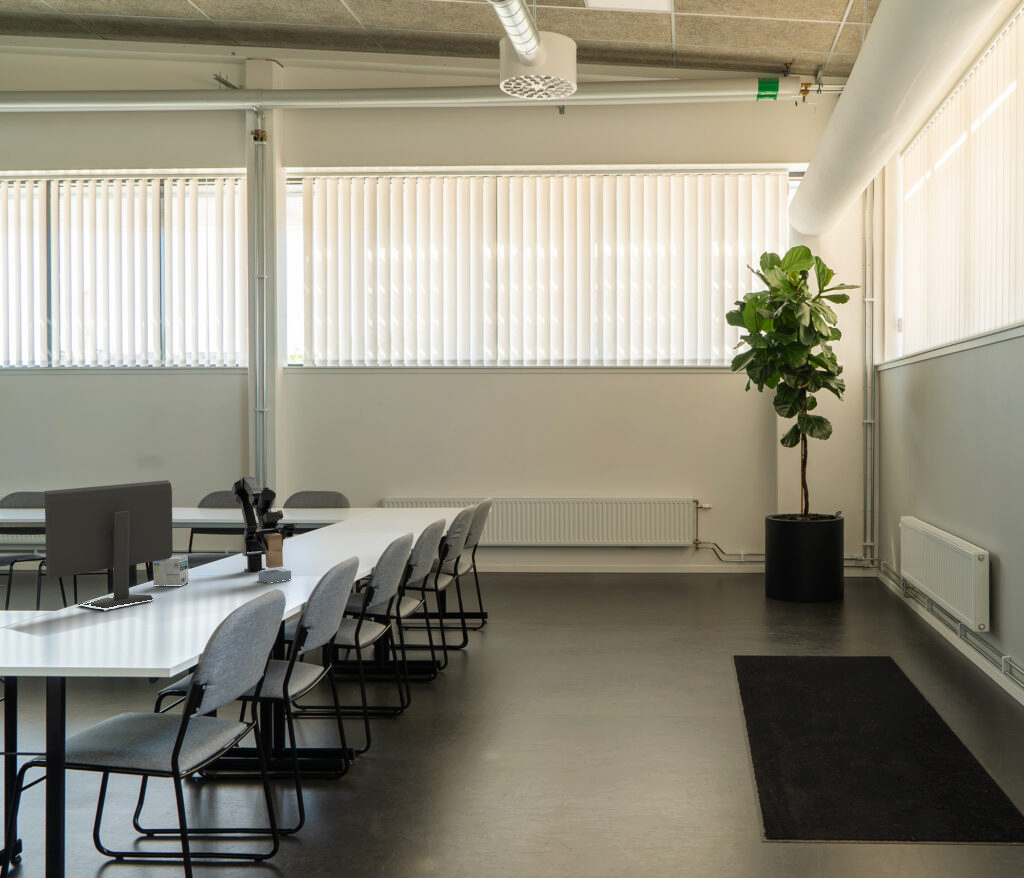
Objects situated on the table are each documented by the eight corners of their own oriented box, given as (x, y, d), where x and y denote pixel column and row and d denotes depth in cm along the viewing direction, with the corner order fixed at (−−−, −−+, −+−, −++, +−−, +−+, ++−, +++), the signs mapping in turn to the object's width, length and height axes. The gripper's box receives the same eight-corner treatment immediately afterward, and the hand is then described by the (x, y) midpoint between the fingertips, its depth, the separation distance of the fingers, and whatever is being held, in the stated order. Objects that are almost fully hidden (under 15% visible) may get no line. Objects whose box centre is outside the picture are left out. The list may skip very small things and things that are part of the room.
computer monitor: (159, 590, 325) (155, 479, 324) (187, 594, 316) (182, 480, 314) (38, 614, 290) (32, 490, 288) (64, 620, 280) (59, 491, 279)
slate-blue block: (258, 581, 340) (258, 570, 340) (281, 578, 345) (280, 567, 345) (268, 584, 333) (268, 573, 333) (291, 581, 338) (291, 570, 338)
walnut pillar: (265, 566, 340) (264, 534, 339) (278, 564, 342) (277, 533, 342) (269, 568, 335) (268, 536, 335) (282, 566, 338) (281, 534, 338)
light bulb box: (189, 583, 337) (188, 555, 337) (181, 587, 330) (179, 558, 330) (162, 584, 338) (160, 555, 338) (153, 587, 331) (151, 558, 331)
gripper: (244, 505, 337) (253, 538, 328) (293, 502, 346) (303, 533, 337) (239, 524, 344) (248, 557, 335) (287, 520, 353) (297, 552, 344)
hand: (274, 549), depth 337 cm, fingers closed on walnut pillar, 5 cm apart
